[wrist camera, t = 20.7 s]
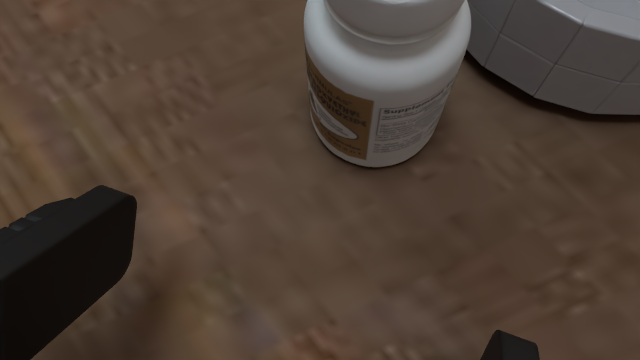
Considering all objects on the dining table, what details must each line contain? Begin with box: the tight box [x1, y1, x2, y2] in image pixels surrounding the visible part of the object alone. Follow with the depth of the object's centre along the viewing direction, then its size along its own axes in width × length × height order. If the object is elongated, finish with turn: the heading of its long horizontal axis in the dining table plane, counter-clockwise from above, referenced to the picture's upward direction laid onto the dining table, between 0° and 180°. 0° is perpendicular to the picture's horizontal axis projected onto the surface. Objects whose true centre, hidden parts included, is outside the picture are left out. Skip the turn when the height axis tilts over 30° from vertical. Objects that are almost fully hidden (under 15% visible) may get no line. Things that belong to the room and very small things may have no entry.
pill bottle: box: [304, 0, 471, 167], centre depth 15 cm, size 4×4×8 cm
